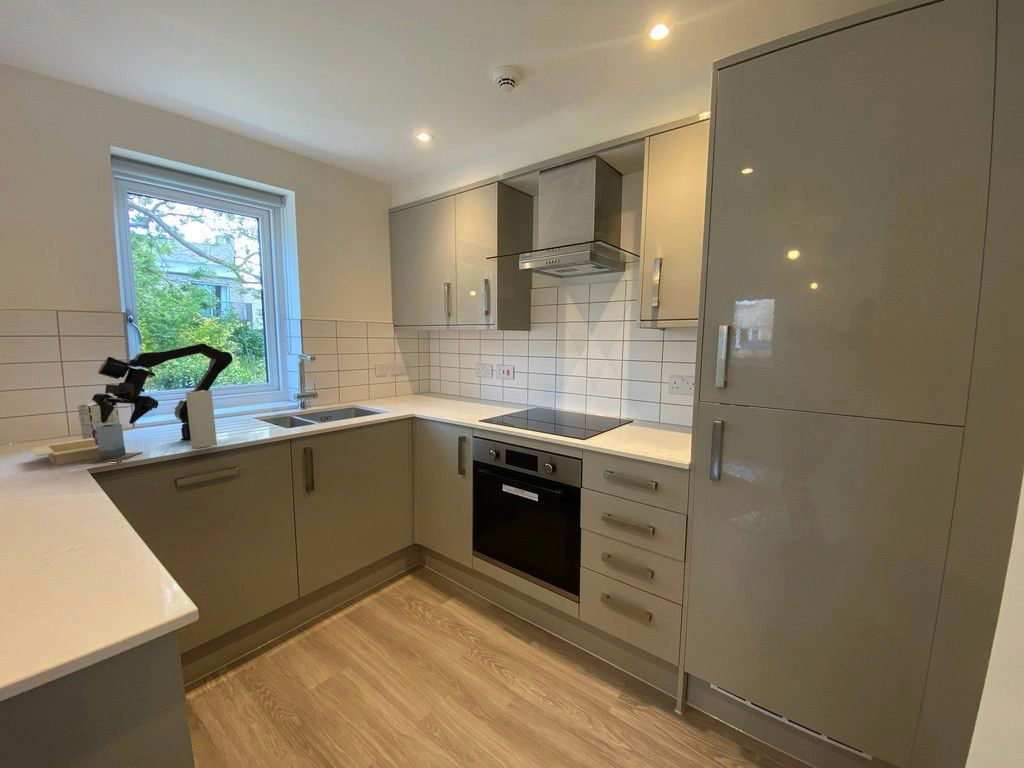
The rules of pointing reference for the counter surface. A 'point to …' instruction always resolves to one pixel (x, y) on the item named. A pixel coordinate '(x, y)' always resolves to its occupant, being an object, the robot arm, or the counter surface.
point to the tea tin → (110, 441)
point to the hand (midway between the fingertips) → (116, 423)
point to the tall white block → (201, 418)
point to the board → (97, 460)
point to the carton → (69, 451)
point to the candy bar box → (94, 419)
